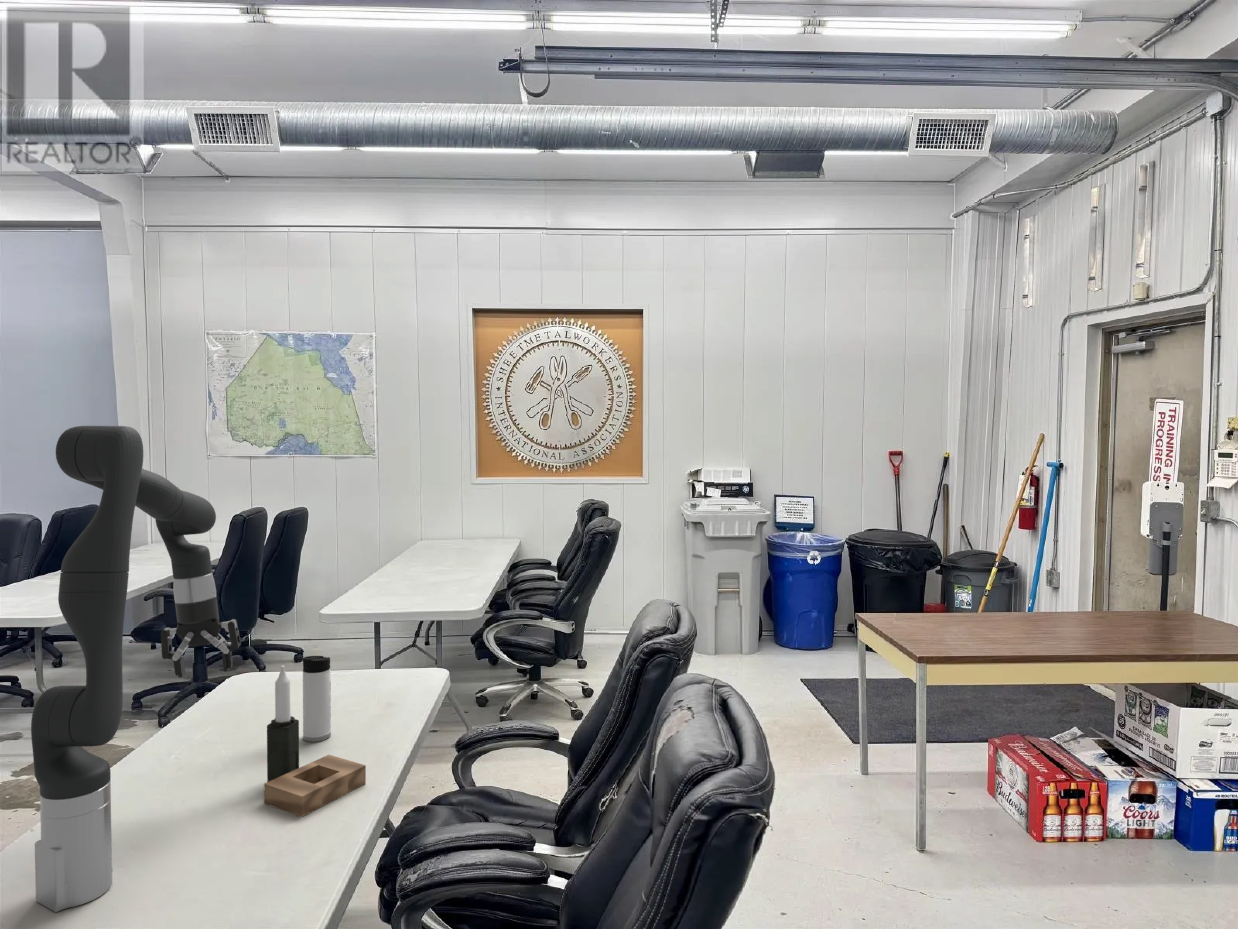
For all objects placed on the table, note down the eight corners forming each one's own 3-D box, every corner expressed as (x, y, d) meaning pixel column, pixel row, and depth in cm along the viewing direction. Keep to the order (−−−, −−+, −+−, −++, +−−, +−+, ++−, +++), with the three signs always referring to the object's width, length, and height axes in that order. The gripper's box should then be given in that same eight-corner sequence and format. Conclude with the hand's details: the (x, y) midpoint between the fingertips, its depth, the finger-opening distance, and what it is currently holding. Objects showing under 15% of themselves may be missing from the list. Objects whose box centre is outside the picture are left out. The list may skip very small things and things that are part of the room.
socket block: (302, 817, 148) (302, 796, 148) (264, 803, 153) (264, 783, 153) (365, 784, 162) (365, 765, 162) (328, 772, 167) (328, 754, 167)
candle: (286, 789, 160) (285, 670, 158) (264, 786, 161) (263, 668, 160) (301, 778, 165) (300, 662, 163) (280, 776, 166) (279, 661, 165)
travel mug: (296, 739, 185) (295, 657, 184) (318, 730, 191) (318, 650, 190) (314, 745, 182) (313, 661, 181) (336, 735, 188) (336, 654, 187)
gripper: (150, 606, 153) (160, 685, 154) (228, 596, 156) (238, 674, 157) (163, 597, 160) (172, 673, 161) (237, 588, 163) (246, 662, 165)
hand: (205, 673), depth 159 cm, fingers open, 8 cm apart
